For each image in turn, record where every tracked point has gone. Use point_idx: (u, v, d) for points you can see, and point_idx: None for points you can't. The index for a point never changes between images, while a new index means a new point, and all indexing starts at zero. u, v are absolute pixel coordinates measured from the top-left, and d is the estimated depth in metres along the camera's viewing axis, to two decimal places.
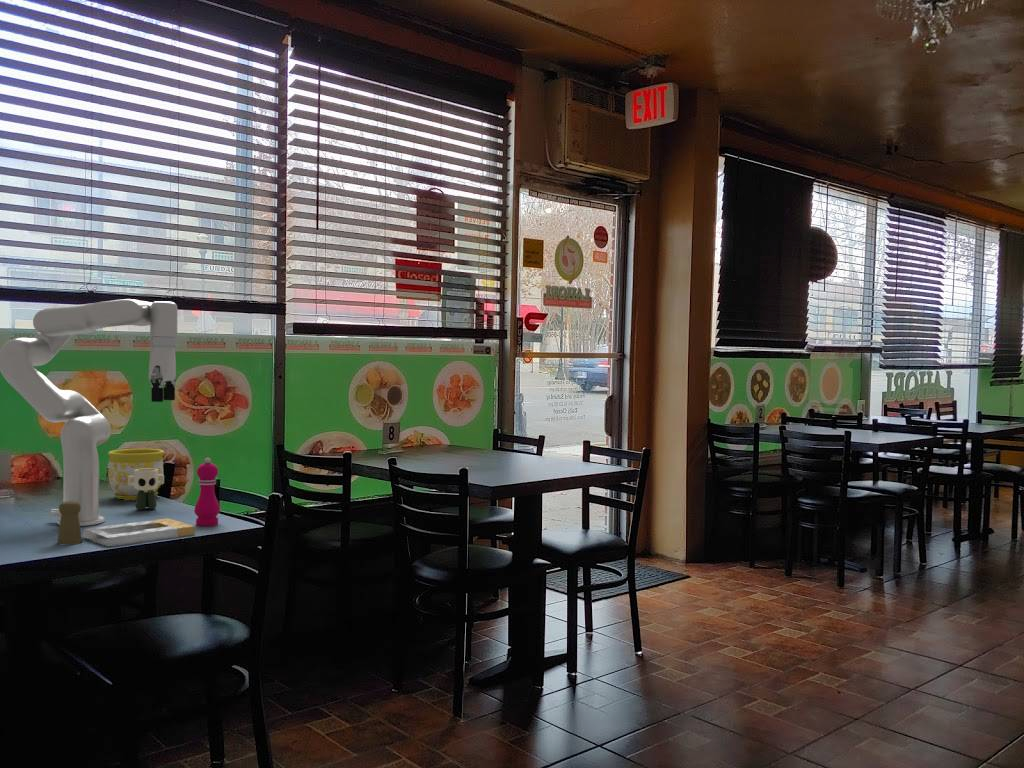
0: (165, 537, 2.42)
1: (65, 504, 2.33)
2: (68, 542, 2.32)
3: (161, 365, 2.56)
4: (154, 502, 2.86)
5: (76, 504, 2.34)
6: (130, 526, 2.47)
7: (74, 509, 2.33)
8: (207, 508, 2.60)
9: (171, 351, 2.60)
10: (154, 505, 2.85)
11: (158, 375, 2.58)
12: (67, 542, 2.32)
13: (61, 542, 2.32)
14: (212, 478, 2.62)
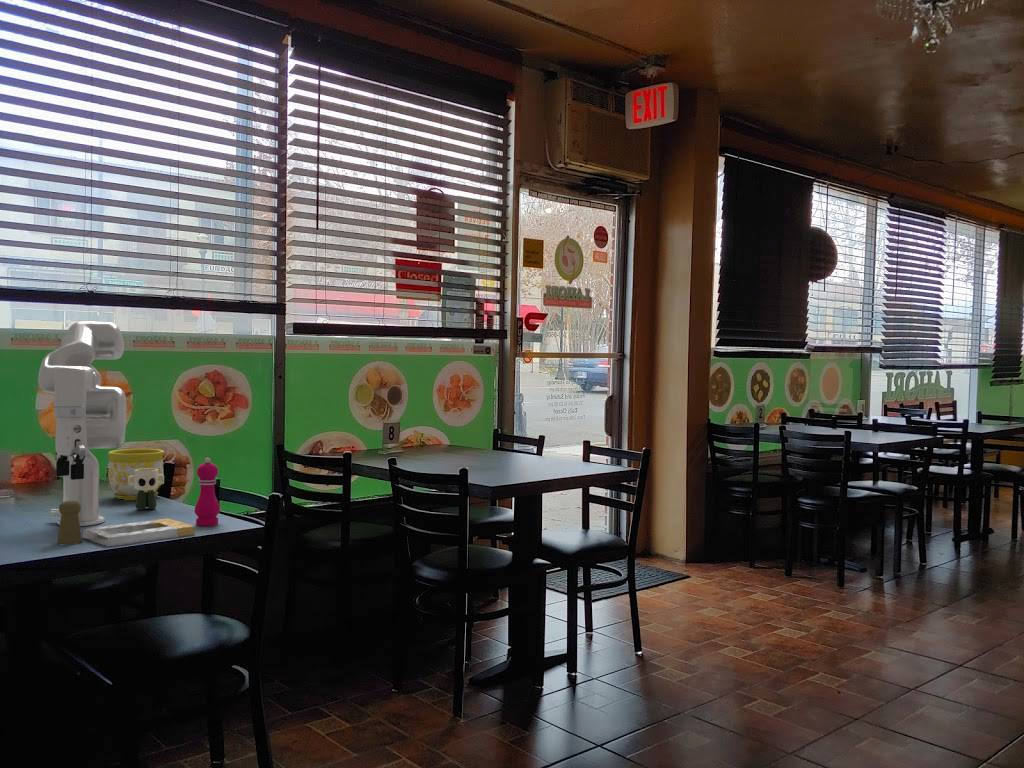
0: (165, 537, 2.42)
1: (65, 504, 2.33)
2: (68, 542, 2.32)
3: None
4: (154, 502, 2.86)
5: (76, 504, 2.34)
6: (130, 526, 2.47)
7: (74, 509, 2.33)
8: (207, 508, 2.60)
9: (59, 423, 2.33)
10: (154, 505, 2.85)
11: None
12: (67, 542, 2.32)
13: (61, 542, 2.32)
14: (212, 478, 2.62)
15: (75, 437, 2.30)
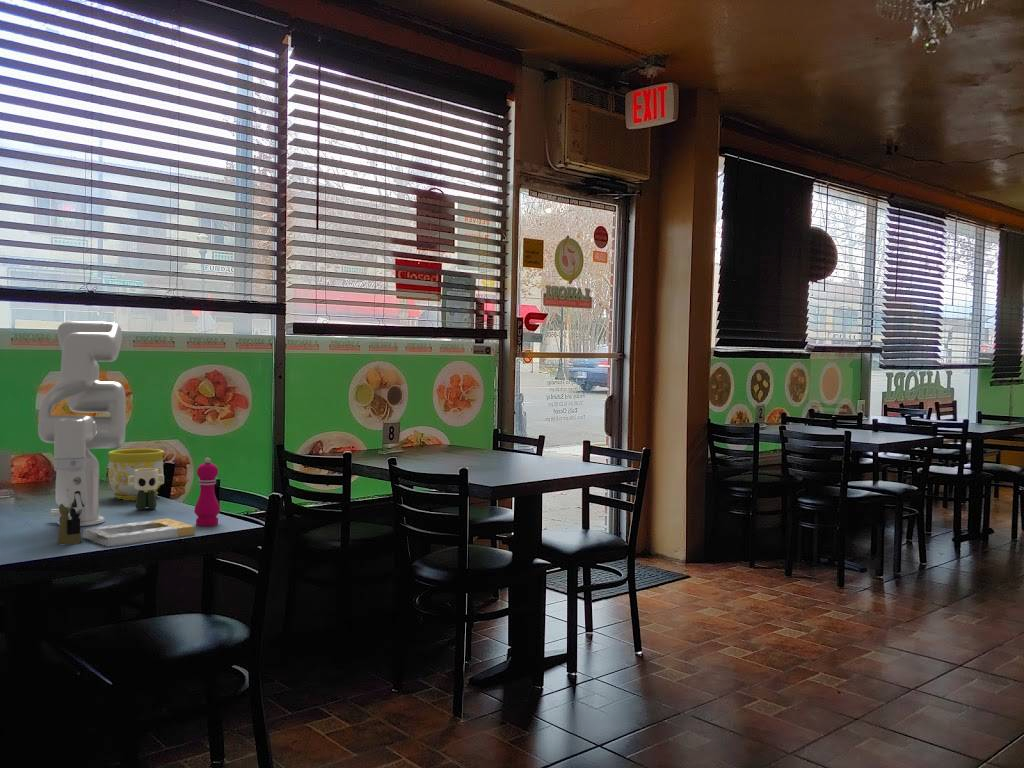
0: (165, 537, 2.42)
1: None
2: (68, 542, 2.32)
3: None
4: (154, 502, 2.86)
5: None
6: (130, 526, 2.47)
7: (74, 509, 2.33)
8: (207, 508, 2.60)
9: (59, 474, 2.33)
10: (154, 505, 2.85)
11: None
12: (67, 542, 2.32)
13: (61, 542, 2.32)
14: (212, 478, 2.62)
15: (75, 489, 2.31)
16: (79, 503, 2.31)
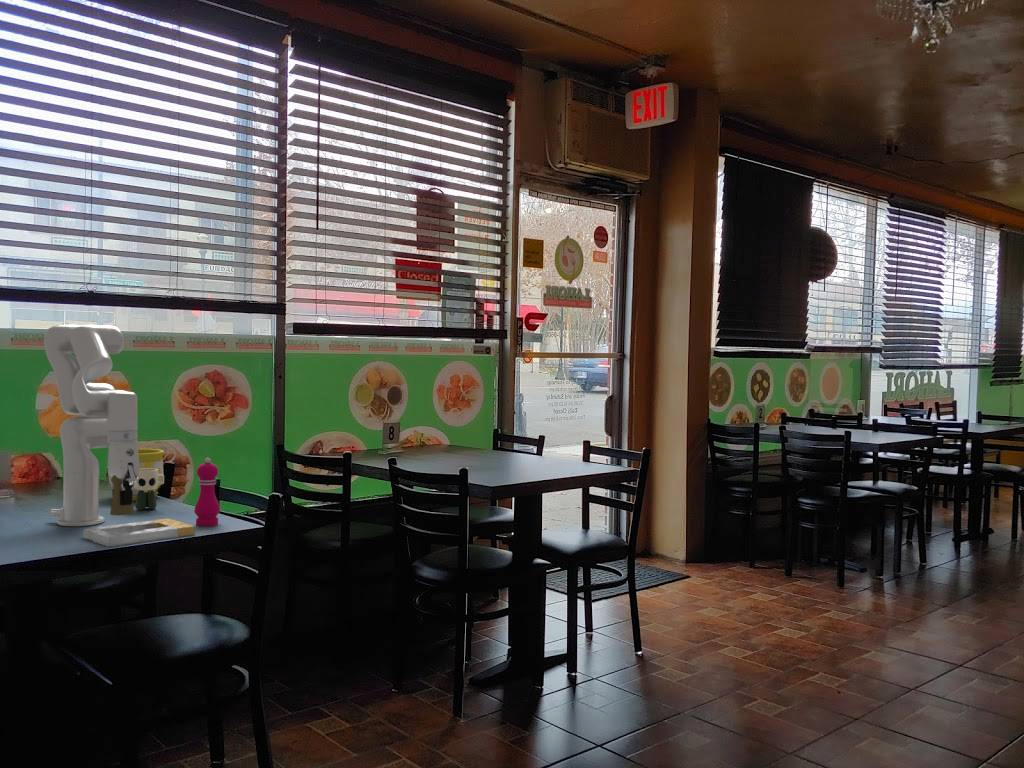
0: (165, 537, 2.42)
1: None
2: (121, 512, 2.38)
3: None
4: (154, 502, 2.86)
5: None
6: (130, 526, 2.47)
7: None
8: (207, 508, 2.60)
9: (111, 446, 2.39)
10: (154, 505, 2.85)
11: None
12: (120, 512, 2.38)
13: (114, 513, 2.38)
14: (212, 478, 2.62)
15: (128, 460, 2.37)
16: (132, 474, 2.36)
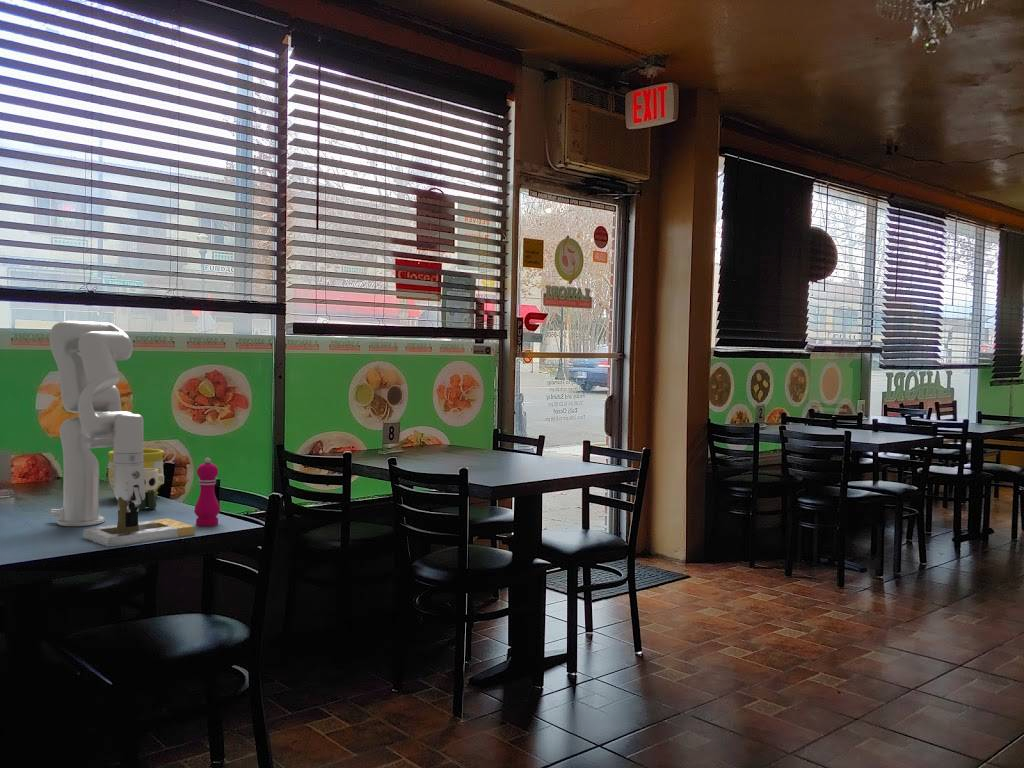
0: (165, 537, 2.42)
1: None
2: None
3: None
4: (154, 502, 2.86)
5: None
6: None
7: None
8: (207, 508, 2.60)
9: (118, 468, 2.40)
10: (154, 505, 2.85)
11: None
12: None
13: None
14: (212, 478, 2.62)
15: (134, 483, 2.38)
16: (138, 496, 2.38)
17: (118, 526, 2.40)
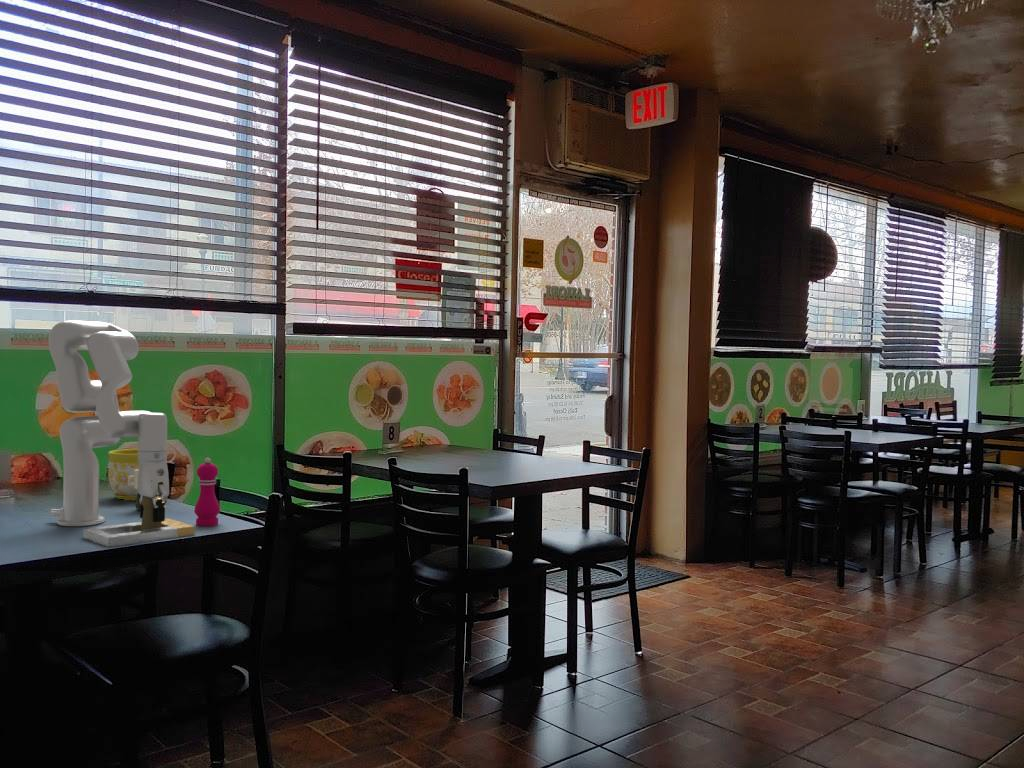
0: (165, 537, 2.42)
1: (148, 498, 2.45)
2: None
3: None
4: None
5: None
6: (130, 526, 2.47)
7: None
8: (207, 508, 2.60)
9: (142, 466, 2.45)
10: None
11: None
12: None
13: None
14: (212, 478, 2.62)
15: (159, 480, 2.43)
16: (163, 489, 2.43)
17: (142, 526, 2.45)
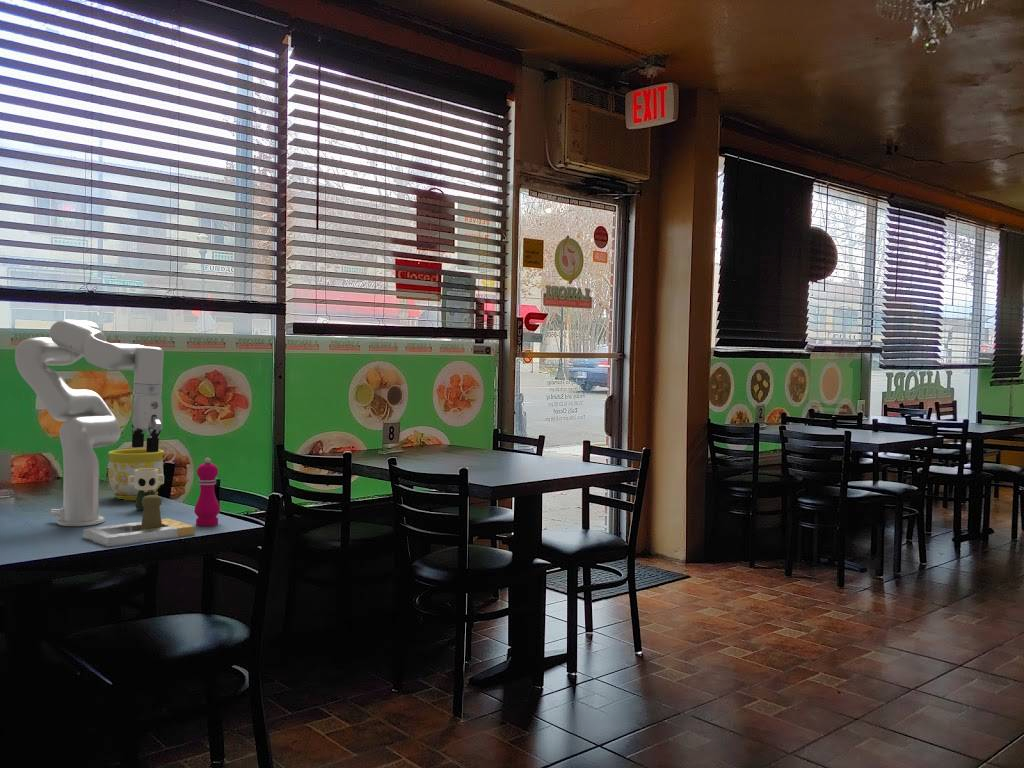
0: (165, 537, 2.42)
1: (148, 498, 2.45)
2: None
3: None
4: None
5: (158, 498, 2.46)
6: (130, 526, 2.47)
7: (156, 503, 2.45)
8: (207, 508, 2.60)
9: (137, 398, 2.49)
10: None
11: None
12: None
13: None
14: (212, 478, 2.62)
15: (152, 412, 2.47)
16: (156, 418, 2.46)
17: (142, 526, 2.45)
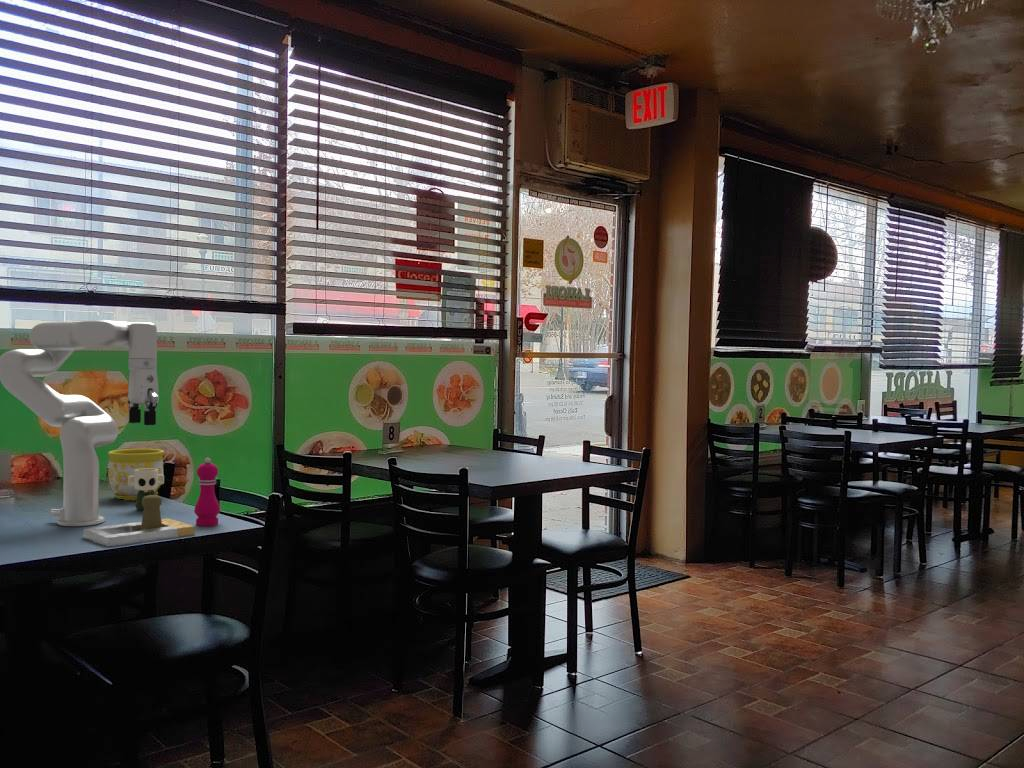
0: (165, 537, 2.42)
1: (148, 498, 2.45)
2: None
3: None
4: None
5: (158, 498, 2.46)
6: (130, 526, 2.47)
7: (156, 503, 2.45)
8: (207, 508, 2.60)
9: (132, 373, 2.54)
10: None
11: None
12: None
13: None
14: (212, 478, 2.62)
15: (148, 386, 2.52)
16: (152, 391, 2.51)
17: (142, 526, 2.45)
